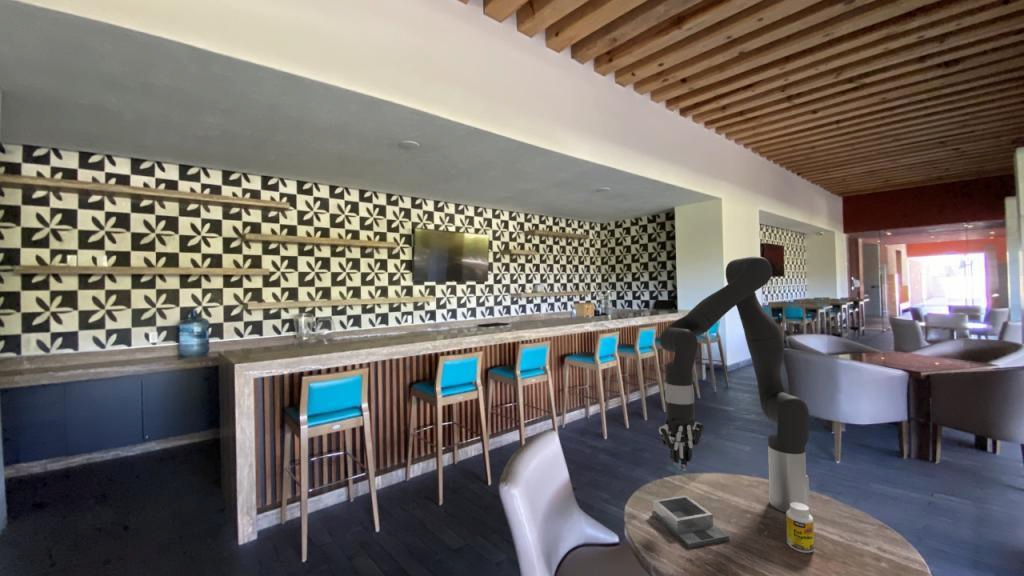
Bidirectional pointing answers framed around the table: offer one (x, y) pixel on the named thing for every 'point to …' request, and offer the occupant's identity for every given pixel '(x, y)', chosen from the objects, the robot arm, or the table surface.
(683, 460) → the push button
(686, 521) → the gray open box
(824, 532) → the table surface
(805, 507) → the supplement bottle
